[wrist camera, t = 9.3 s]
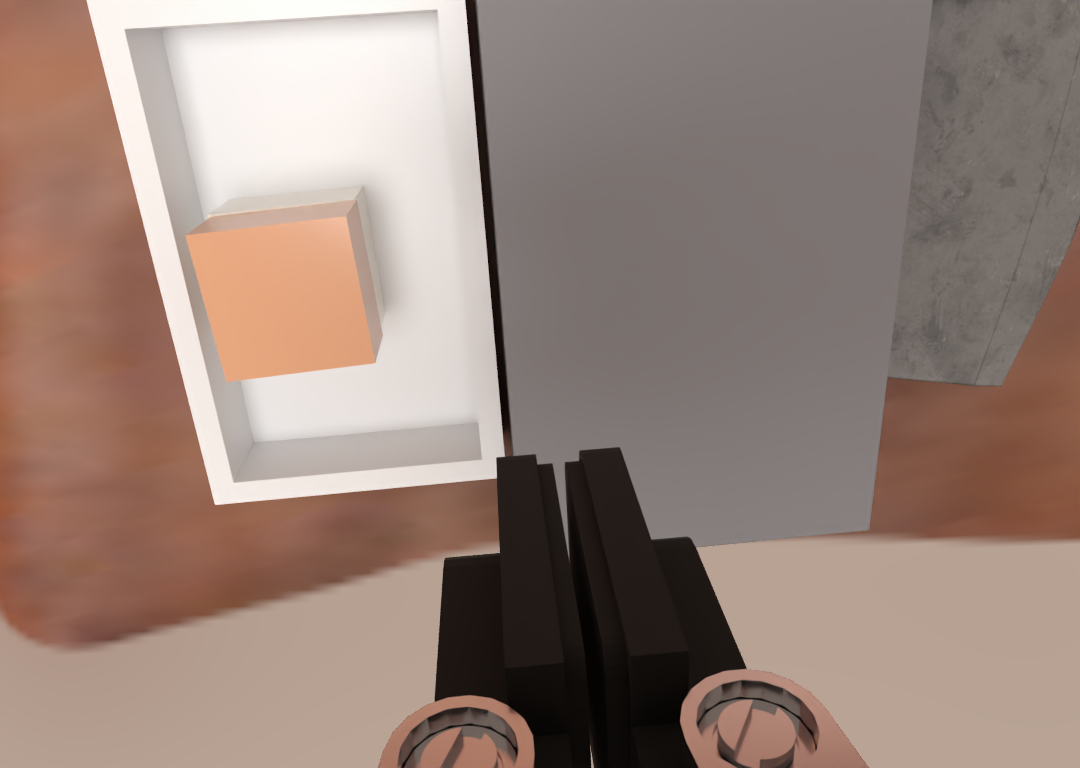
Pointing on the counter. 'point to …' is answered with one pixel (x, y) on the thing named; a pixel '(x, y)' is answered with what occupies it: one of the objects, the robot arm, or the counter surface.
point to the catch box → (307, 165)
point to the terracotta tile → (287, 290)
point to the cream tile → (312, 199)
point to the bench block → (703, 246)
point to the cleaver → (988, 186)
